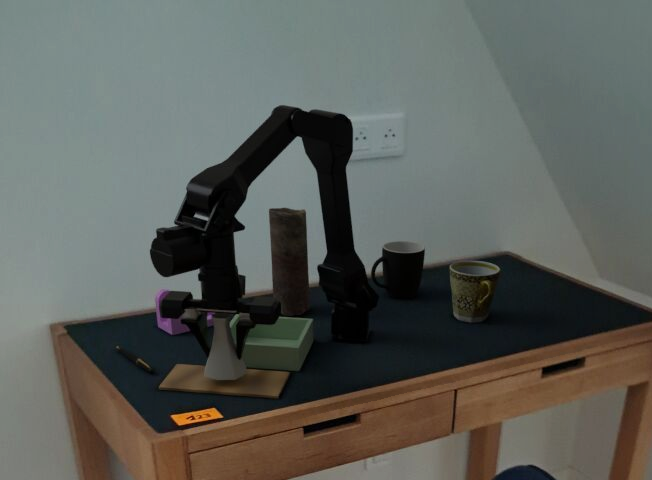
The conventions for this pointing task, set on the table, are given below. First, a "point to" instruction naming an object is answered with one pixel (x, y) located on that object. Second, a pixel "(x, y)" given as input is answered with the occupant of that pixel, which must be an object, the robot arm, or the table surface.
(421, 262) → the mug
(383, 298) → the table surface
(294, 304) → the brown tall block
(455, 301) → the ceramic cup
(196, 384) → the cork mat
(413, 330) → the table surface
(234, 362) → the flask
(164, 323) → the bracket
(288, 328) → the bin
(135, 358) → the fountain pen
